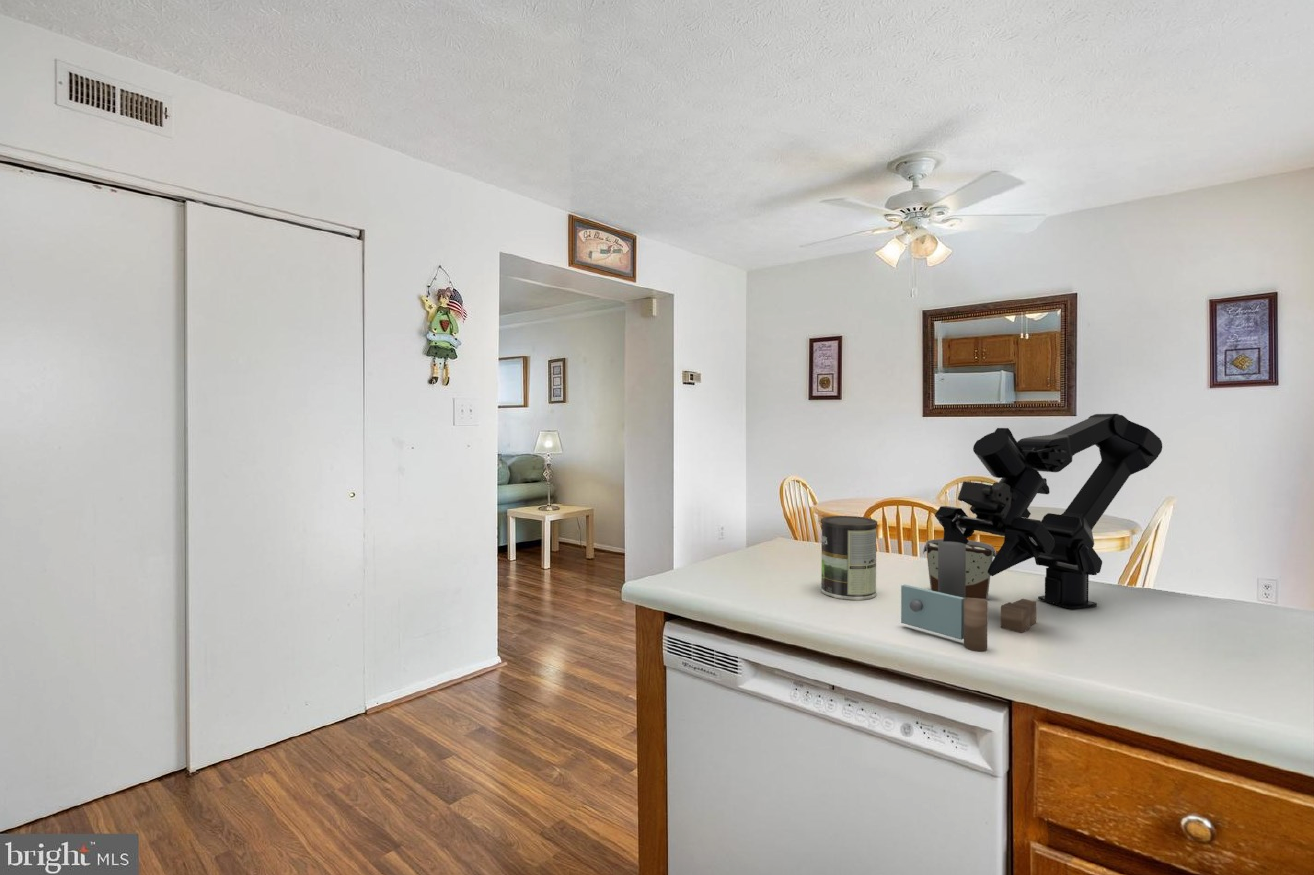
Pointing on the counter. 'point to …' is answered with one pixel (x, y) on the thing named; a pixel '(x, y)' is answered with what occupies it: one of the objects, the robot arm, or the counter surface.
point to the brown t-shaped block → (1012, 618)
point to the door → (932, 611)
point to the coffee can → (848, 557)
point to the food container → (976, 567)
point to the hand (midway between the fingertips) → (964, 567)
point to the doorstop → (952, 568)
